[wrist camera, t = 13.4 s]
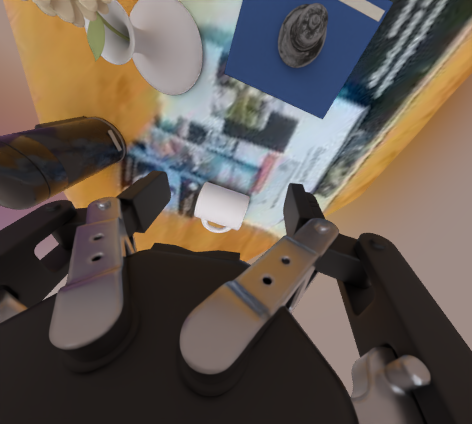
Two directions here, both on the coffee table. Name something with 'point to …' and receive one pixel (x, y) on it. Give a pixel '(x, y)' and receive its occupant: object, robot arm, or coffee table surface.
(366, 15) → the blue notebook
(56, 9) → the flower in vase
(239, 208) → the mug
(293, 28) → the dark grey turned piece
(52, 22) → the coffee table surface
